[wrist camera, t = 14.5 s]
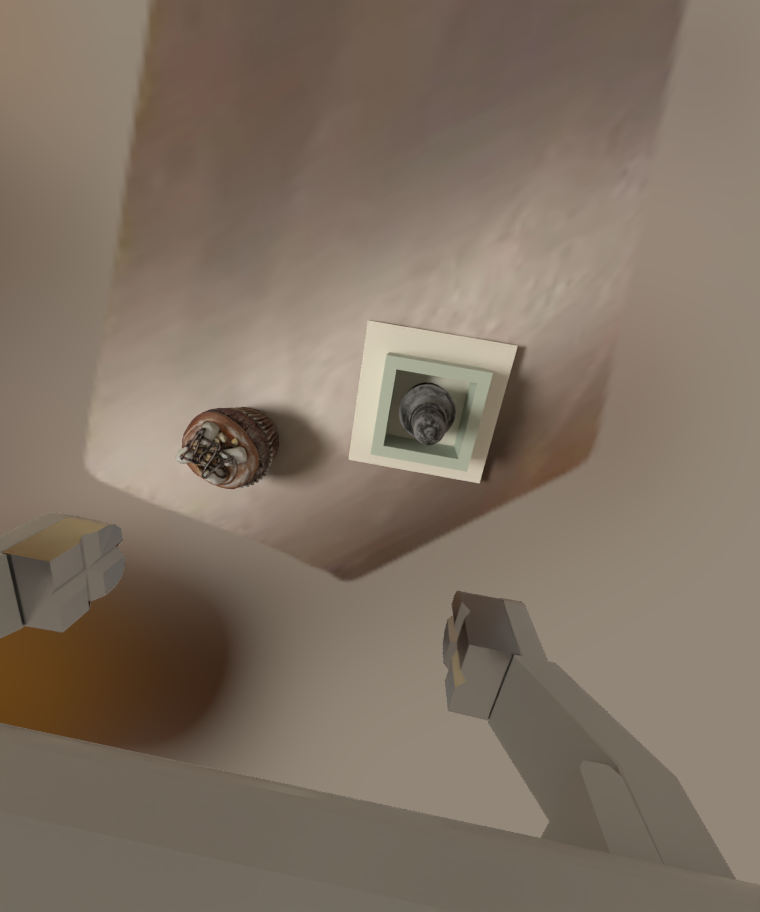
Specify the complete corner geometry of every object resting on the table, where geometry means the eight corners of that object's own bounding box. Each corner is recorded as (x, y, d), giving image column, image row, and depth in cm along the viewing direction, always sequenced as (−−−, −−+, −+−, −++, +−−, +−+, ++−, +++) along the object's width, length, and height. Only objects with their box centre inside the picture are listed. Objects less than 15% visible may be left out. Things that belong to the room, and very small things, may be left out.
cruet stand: (369, 320, 40) (362, 319, 34) (514, 345, 39) (530, 348, 34) (350, 456, 45) (341, 473, 40) (477, 479, 45) (486, 499, 39)
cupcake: (199, 445, 47) (145, 475, 37) (232, 383, 44) (182, 398, 34) (263, 486, 48) (226, 525, 38) (300, 429, 45) (269, 456, 35)
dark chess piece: (458, 385, 40) (475, 407, 29) (445, 435, 42) (456, 475, 31) (406, 374, 40) (402, 392, 29) (395, 425, 42) (388, 460, 31)
